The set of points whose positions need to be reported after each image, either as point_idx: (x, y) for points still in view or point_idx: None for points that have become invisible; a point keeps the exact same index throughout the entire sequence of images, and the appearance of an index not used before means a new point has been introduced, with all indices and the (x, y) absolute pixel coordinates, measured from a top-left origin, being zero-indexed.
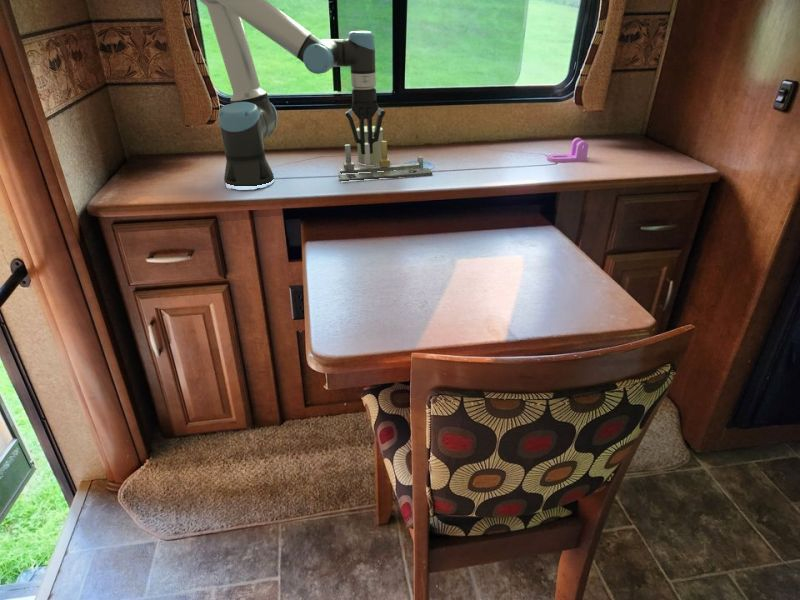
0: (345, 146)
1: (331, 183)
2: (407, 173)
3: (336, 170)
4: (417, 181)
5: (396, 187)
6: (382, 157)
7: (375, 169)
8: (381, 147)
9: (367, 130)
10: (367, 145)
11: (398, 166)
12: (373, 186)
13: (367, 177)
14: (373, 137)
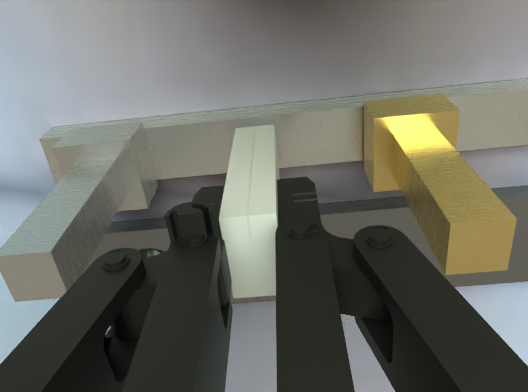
0: (19, 296)
1: (43, 300)
2: (510, 270)
3: (9, 47)
4: (520, 333)
5: (384, 388)
6: (398, 185)
7: (318, 161)
8: (425, 196)
9: (277, 344)
10: (262, 291)
11: (507, 144)
12: (274, 364)
13: (248, 301)
14: (356, 278)
